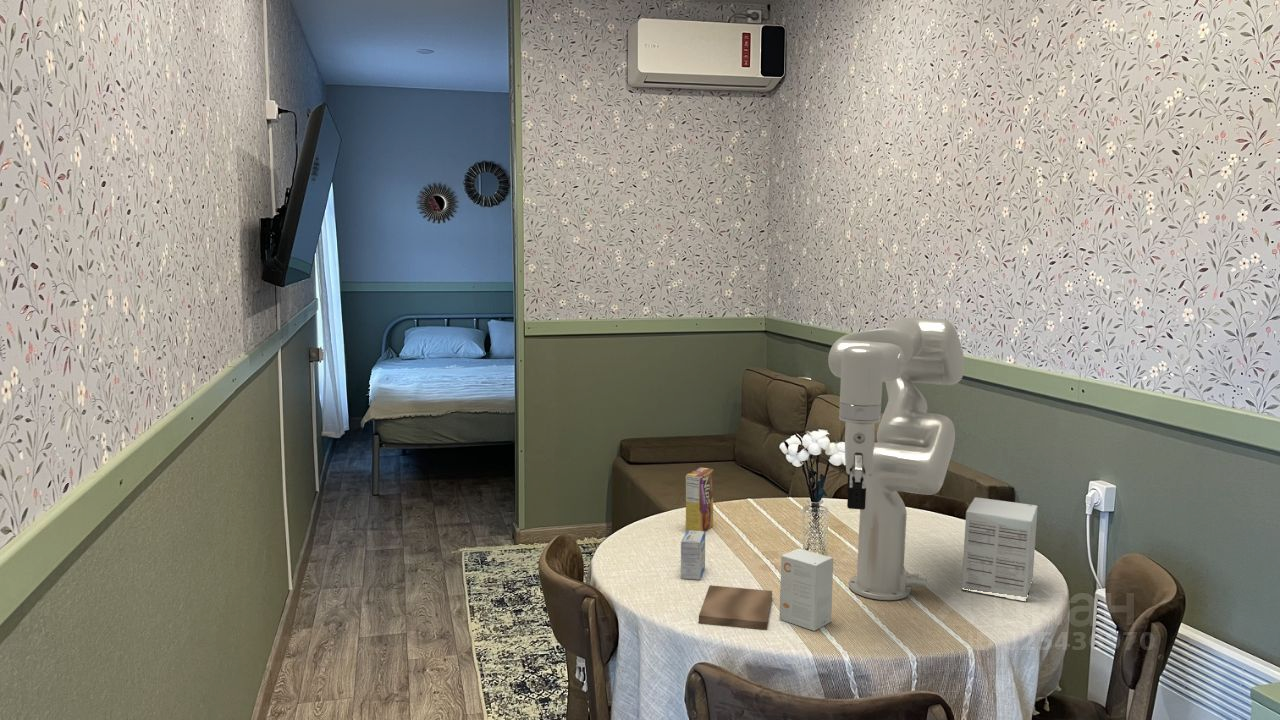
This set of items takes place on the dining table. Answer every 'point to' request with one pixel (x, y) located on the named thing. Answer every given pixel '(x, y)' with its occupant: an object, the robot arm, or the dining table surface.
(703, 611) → the walnut board
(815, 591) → the small box
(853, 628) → the dining table surface
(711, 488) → the candy box
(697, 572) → the medicine box
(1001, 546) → the supplement box
